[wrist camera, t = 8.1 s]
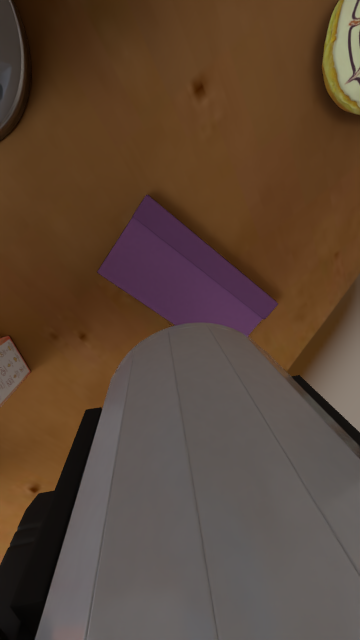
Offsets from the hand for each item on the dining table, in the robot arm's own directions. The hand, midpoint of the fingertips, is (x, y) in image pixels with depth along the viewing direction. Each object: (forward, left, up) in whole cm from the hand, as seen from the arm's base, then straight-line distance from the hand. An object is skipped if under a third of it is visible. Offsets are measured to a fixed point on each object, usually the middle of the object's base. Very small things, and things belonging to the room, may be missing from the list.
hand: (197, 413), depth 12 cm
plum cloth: (+3, +3, -18) cm, 19 cm away
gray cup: (0, 0, -1) cm, 1 cm away
